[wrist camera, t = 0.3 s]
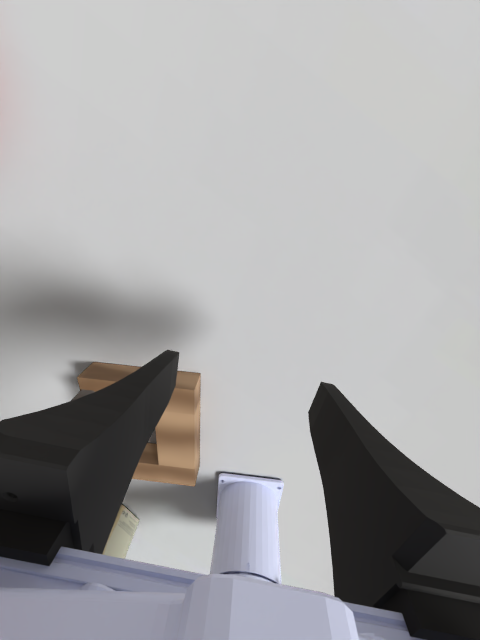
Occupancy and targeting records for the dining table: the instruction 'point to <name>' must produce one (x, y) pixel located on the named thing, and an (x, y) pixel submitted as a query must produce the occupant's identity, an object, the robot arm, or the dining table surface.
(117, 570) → the robot arm
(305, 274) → the dining table surface
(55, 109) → the dining table surface
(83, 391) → the wooden bracket with rod
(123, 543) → the skincare box
